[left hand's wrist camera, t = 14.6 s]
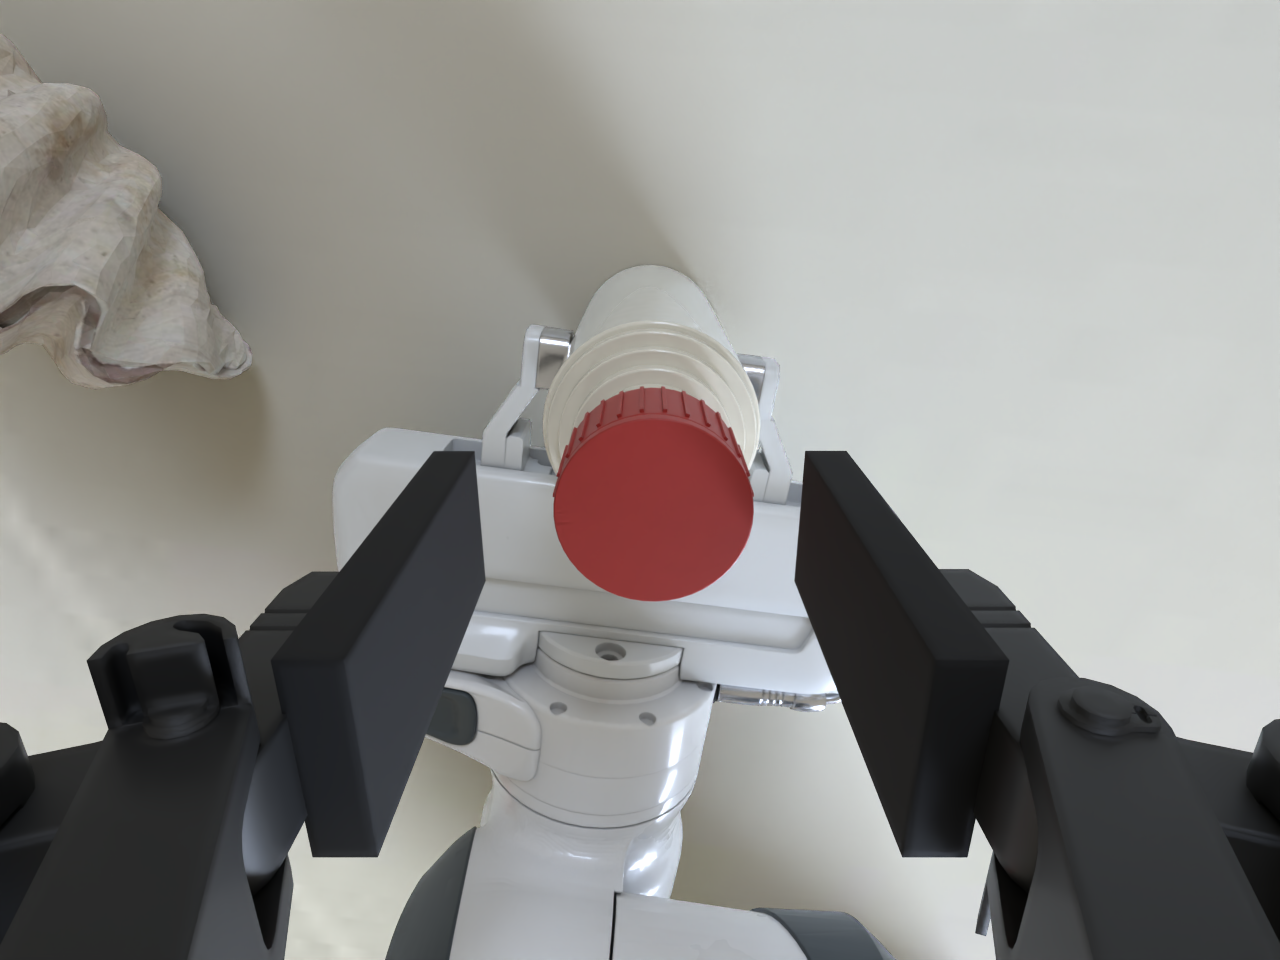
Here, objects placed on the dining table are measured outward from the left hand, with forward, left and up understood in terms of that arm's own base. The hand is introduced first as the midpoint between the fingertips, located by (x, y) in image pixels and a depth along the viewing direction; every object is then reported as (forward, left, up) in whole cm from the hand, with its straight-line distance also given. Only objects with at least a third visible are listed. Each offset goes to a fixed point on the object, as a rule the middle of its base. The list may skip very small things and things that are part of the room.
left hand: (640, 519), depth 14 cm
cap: (0, 0, 0) cm, 0 cm away
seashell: (+22, -5, -19) cm, 29 cm away
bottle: (0, 0, -19) cm, 19 cm away
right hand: (0, -1, -12) cm, 12 cm away
